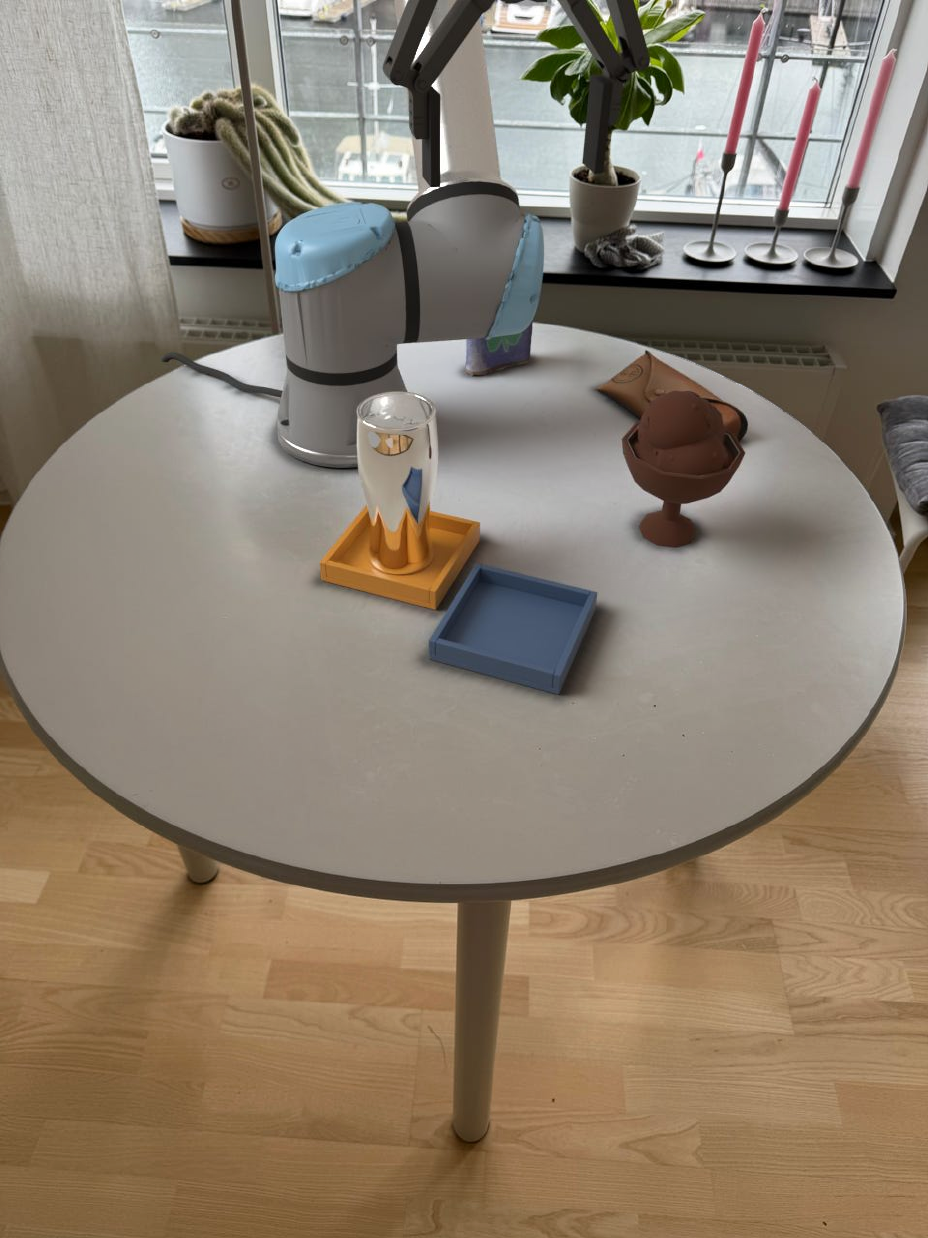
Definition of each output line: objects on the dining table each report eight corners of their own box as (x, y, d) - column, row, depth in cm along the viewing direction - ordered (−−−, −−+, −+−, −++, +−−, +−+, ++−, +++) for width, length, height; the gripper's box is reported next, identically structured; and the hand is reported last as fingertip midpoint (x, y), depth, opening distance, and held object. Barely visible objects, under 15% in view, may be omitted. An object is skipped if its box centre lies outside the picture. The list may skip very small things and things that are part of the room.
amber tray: (321, 580, 87) (319, 562, 86) (373, 514, 95) (372, 497, 94) (435, 610, 84) (435, 591, 83) (479, 540, 92) (480, 522, 91)
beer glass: (363, 534, 92) (353, 390, 82) (436, 531, 92) (435, 388, 82) (363, 579, 86) (353, 432, 77) (440, 576, 87) (441, 429, 77)
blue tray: (428, 659, 80) (428, 640, 78) (475, 580, 88) (476, 562, 86) (558, 695, 77) (560, 676, 75) (595, 610, 85) (597, 592, 83)
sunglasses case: (589, 386, 115) (617, 335, 113) (625, 401, 120) (653, 352, 117) (689, 456, 104) (723, 400, 101) (725, 469, 108) (758, 417, 106)
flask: (471, 378, 118) (473, 291, 111) (459, 368, 119) (460, 283, 112) (534, 361, 121) (540, 277, 114) (522, 352, 123) (527, 269, 116)
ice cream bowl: (725, 570, 89) (760, 427, 80) (605, 554, 91) (624, 412, 81) (725, 507, 97) (757, 369, 87) (614, 493, 99) (633, 356, 89)
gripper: (353, -162, 57) (370, 204, 72) (730, -163, 63) (676, 177, 77) (329, -172, 63) (350, 171, 77) (679, -173, 68) (637, 148, 82)
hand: (513, 175), depth 77 cm, fingers open, 13 cm apart
